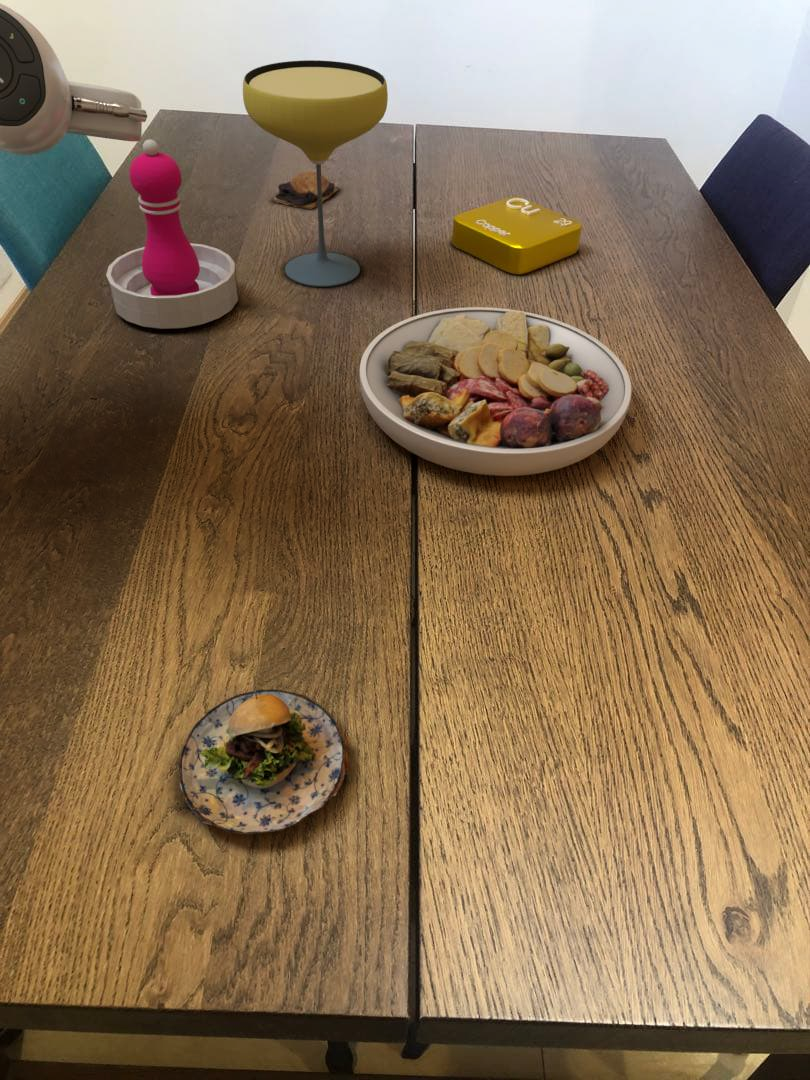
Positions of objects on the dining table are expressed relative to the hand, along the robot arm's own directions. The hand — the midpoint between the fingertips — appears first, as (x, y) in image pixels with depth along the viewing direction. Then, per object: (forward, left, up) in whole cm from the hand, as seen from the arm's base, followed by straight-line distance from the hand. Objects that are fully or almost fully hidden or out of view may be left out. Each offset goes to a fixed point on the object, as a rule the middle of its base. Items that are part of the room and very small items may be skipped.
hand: (29, 110), depth 78 cm
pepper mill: (+8, +15, -28) cm, 33 cm away
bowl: (+45, -12, -28) cm, 55 cm away
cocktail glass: (+28, +25, -28) cm, 47 cm away
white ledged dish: (+8, +16, -28) cm, 33 cm away
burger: (+19, -56, -28) cm, 66 cm away
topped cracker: (+27, +54, -28) cm, 67 cm away
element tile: (+58, +31, -28) cm, 72 cm away
